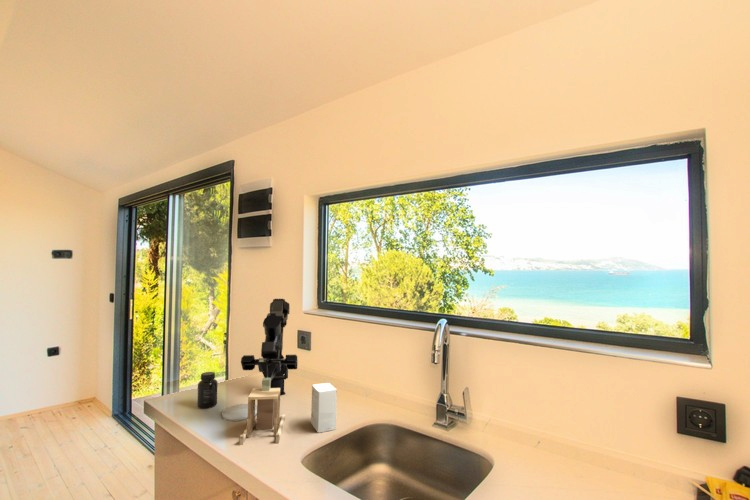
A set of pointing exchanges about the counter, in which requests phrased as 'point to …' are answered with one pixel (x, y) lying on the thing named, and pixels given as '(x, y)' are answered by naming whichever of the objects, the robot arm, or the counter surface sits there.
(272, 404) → the walnut block
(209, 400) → the supplement bottle
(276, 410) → the wooden toy stool
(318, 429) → the small box
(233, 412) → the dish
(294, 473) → the counter surface
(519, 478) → the counter surface
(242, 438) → the track
